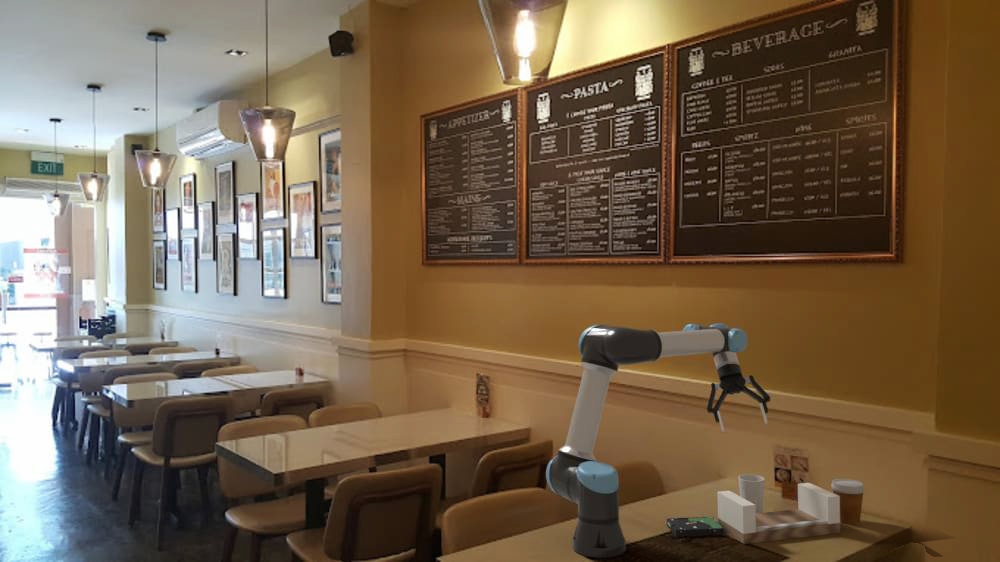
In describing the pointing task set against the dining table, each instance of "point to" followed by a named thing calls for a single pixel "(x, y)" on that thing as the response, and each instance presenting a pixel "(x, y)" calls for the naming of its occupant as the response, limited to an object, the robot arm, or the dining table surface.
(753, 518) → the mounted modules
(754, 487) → the cup
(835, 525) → the board
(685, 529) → the disk drive
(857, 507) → the disposable coffee cup
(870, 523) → the dining table surface
